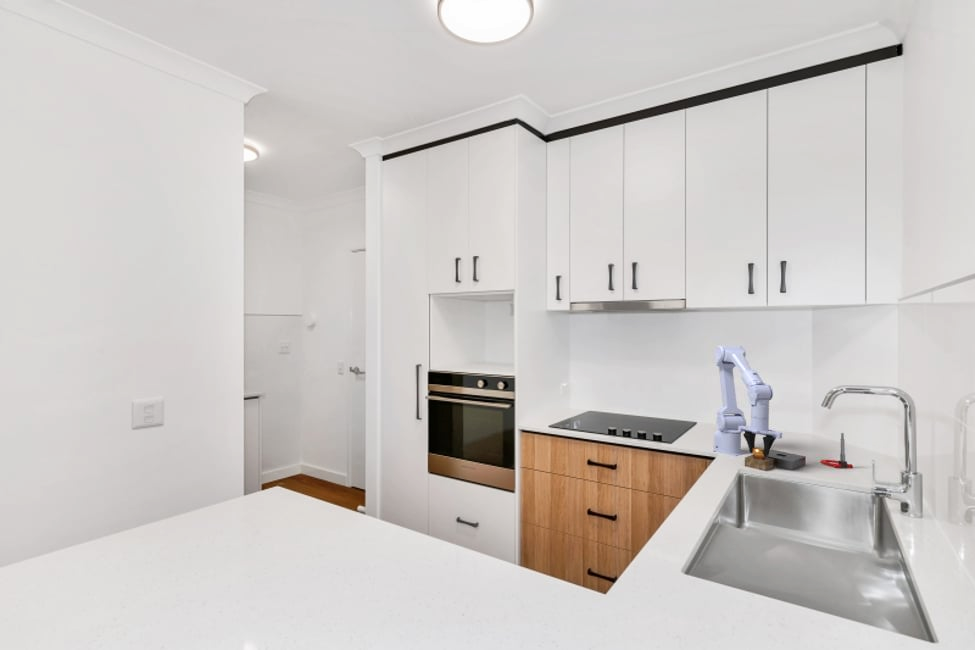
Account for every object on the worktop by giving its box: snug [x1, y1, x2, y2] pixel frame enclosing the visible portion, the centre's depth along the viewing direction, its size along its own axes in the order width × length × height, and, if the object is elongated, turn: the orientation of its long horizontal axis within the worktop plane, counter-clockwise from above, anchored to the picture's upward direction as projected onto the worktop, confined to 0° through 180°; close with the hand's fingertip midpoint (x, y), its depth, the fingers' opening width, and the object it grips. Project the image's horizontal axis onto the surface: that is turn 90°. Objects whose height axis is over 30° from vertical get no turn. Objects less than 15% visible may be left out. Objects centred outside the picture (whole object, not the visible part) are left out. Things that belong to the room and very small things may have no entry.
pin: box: [751, 446, 766, 460], centre depth 176 cm, size 4×4×6 cm
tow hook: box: [820, 432, 854, 469], centre depth 181 cm, size 8×13×9 cm
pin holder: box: [744, 454, 774, 472], centre depth 176 cm, size 7×7×4 cm
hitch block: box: [766, 448, 807, 471], centre depth 180 cm, size 12×12×4 cm
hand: (759, 454), depth 176 cm, fingers closed on pin, 4 cm apart
